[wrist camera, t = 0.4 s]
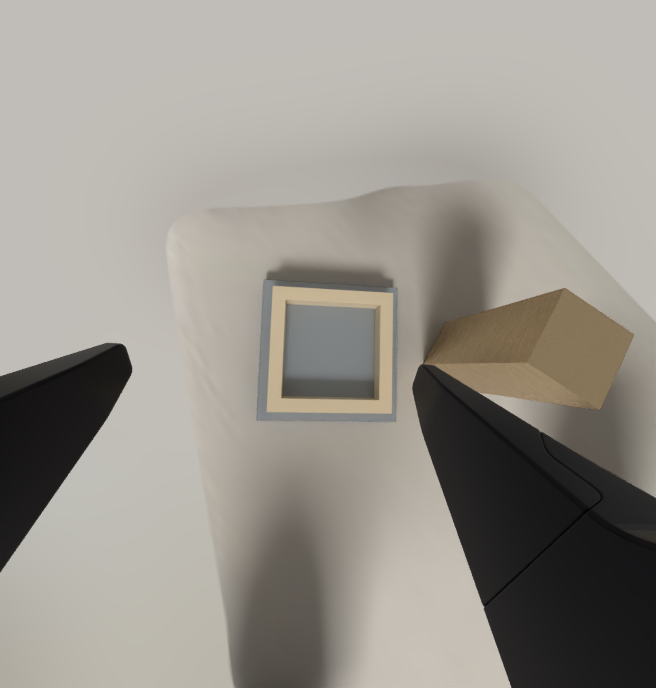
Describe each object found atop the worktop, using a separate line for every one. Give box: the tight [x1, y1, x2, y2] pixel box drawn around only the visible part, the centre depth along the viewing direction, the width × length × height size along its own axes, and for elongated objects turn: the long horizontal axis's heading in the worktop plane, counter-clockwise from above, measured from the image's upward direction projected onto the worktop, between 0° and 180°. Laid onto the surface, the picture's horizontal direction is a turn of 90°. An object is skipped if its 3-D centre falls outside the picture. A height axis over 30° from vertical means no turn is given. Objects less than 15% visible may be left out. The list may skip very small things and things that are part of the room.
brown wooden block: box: [423, 288, 634, 410], centre depth 19 cm, size 4×4×11 cm
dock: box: [257, 280, 397, 422], centre depth 22 cm, size 11×11×2 cm
